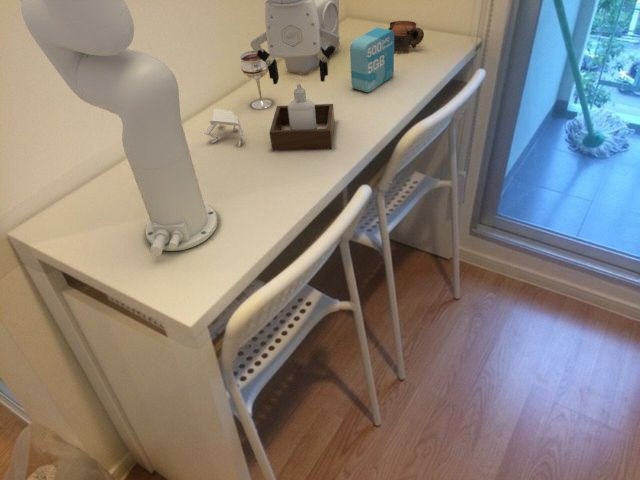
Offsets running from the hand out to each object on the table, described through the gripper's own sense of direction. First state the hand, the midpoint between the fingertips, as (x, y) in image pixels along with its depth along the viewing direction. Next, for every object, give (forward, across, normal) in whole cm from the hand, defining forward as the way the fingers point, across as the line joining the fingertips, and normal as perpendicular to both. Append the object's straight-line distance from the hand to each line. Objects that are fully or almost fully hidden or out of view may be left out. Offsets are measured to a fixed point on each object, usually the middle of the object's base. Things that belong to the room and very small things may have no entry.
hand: (299, 80), depth 108 cm
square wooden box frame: (+13, 0, -1) cm, 13 cm away
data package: (+13, +15, +24) cm, 31 cm away
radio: (+14, -1, +40) cm, 42 cm away
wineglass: (+13, -12, +15) cm, 24 cm away
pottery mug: (+14, +24, +46) cm, 54 cm away
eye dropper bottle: (+13, 0, -1) cm, 13 cm away
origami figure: (+13, -17, 0) cm, 21 cm away
